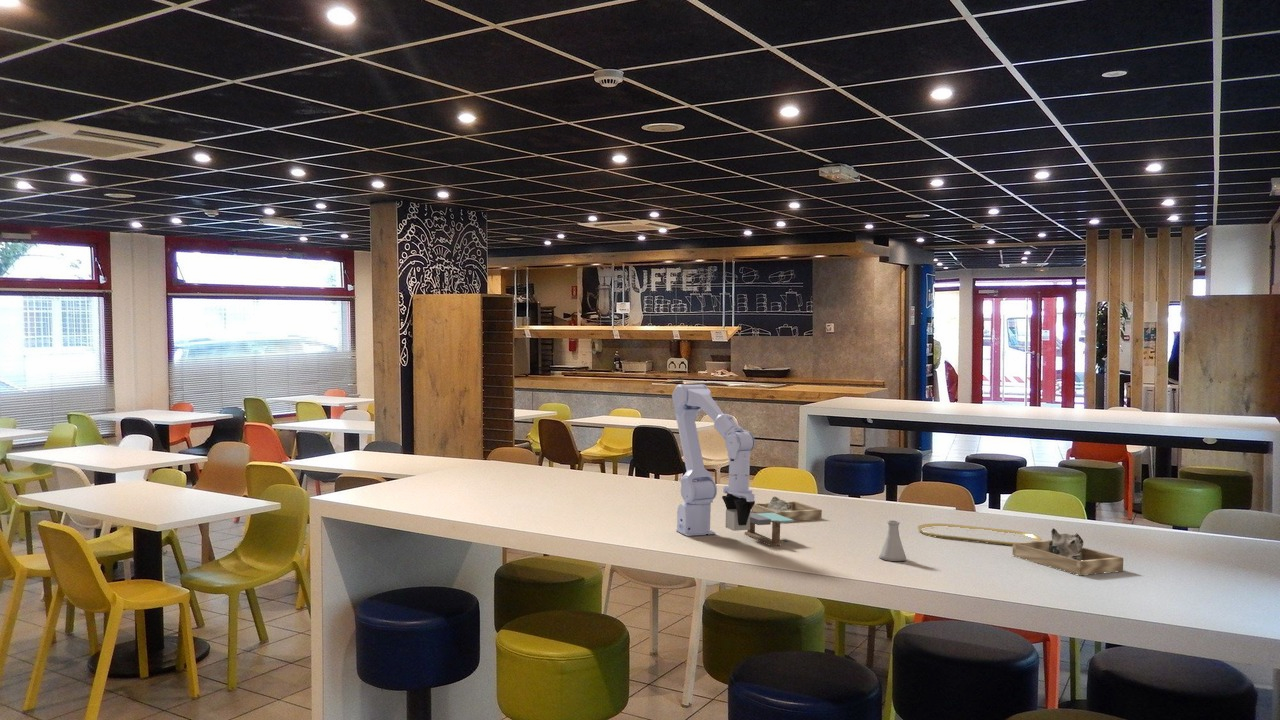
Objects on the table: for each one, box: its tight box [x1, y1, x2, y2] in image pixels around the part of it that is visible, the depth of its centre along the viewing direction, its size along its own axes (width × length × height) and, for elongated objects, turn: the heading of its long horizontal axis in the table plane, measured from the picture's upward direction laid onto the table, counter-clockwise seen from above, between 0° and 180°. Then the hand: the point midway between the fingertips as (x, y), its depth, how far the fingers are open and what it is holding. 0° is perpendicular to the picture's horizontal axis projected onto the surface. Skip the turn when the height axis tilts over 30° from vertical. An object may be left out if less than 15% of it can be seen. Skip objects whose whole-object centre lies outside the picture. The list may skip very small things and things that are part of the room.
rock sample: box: [767, 496, 793, 512], centre depth 292 cm, size 10×8×9 cm
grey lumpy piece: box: [1049, 528, 1084, 561], centre depth 235 cm, size 16×9×10 cm, turn 160°
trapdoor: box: [750, 513, 795, 526], centre depth 256 cm, size 11×12×2 cm
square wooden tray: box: [751, 501, 823, 522], centre depth 293 cm, size 17×16×3 cm
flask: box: [878, 519, 907, 562], centre depth 236 cm, size 7×7×10 cm
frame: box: [744, 511, 782, 547], centre depth 255 cm, size 3×17×7 cm, turn 22°
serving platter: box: [917, 523, 1043, 546], centre depth 267 cm, size 19×35×2 cm, turn 65°
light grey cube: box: [724, 508, 750, 532], centre depth 249 cm, size 5×5×5 cm
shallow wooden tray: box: [1011, 539, 1124, 576], centre depth 235 cm, size 15×22×4 cm
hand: (737, 523), depth 249 cm, fingers closed on light grey cube, 5 cm apart
